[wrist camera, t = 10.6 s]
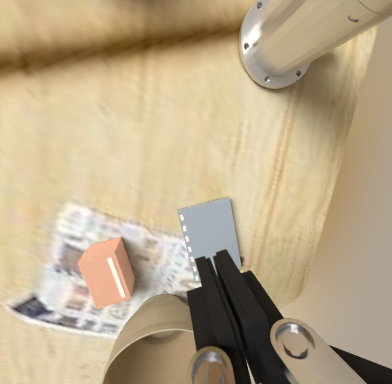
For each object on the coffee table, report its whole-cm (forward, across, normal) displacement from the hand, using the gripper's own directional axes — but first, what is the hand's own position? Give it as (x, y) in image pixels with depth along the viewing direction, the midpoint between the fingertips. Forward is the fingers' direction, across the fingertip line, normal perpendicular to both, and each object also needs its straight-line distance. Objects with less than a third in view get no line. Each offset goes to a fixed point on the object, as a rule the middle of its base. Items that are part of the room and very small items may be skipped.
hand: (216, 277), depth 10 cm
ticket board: (+23, -3, +12) cm, 26 cm away
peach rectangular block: (+22, +14, +10) cm, 28 cm away
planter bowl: (+22, +10, +24) cm, 34 cm away
